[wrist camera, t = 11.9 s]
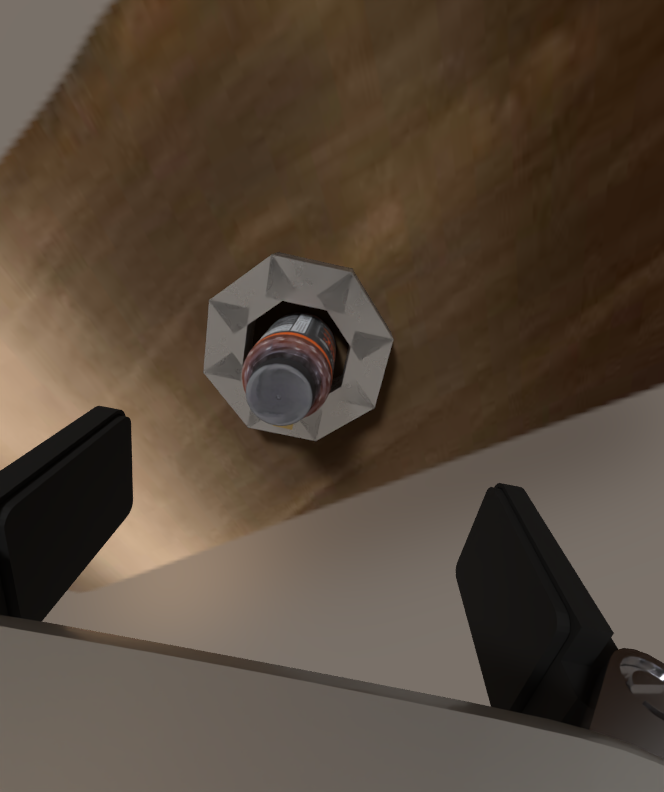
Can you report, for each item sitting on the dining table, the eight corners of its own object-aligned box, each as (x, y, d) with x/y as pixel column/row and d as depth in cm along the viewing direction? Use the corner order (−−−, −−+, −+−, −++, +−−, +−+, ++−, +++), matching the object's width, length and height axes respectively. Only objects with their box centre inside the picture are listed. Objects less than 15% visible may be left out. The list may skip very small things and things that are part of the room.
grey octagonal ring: (403, 279, 31) (410, 285, 28) (362, 434, 37) (363, 455, 33) (226, 240, 31) (210, 241, 27) (211, 403, 36) (196, 421, 33)
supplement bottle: (344, 370, 34) (340, 433, 24) (278, 384, 35) (246, 451, 25) (327, 302, 32) (315, 338, 22) (257, 318, 33) (213, 361, 22)
